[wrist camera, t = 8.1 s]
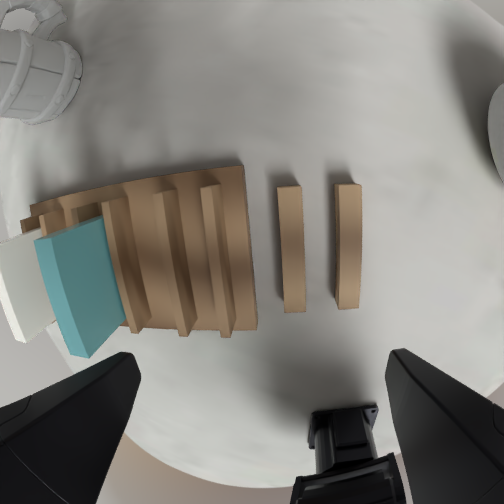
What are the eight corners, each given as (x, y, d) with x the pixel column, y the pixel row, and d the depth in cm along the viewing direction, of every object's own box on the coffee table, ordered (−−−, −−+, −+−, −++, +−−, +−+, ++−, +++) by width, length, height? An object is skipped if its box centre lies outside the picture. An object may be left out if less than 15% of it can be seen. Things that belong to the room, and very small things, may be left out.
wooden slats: (353, 298, 19) (358, 308, 18) (284, 302, 20) (284, 312, 18) (355, 183, 17) (361, 184, 15) (277, 186, 17) (277, 188, 16)
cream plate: (78, 302, 21) (26, 343, 14) (66, 301, 21) (16, 340, 14) (58, 222, 19) (-6, 246, 12) (47, 224, 19) (-15, 248, 12)
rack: (258, 321, 20) (252, 350, 17) (65, 313, 23) (43, 330, 19) (243, 165, 17) (234, 165, 14) (38, 202, 20) (10, 210, 16)
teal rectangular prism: (139, 304, 20) (89, 358, 13) (122, 304, 20) (70, 354, 13) (120, 212, 18) (50, 237, 11) (102, 214, 18) (33, 240, 11)
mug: (24, 129, 18) (-76, 135, 6) (50, 22, 14) (-32, -5, 3) (76, 120, 17) (-49, 115, 6) (107, 0, 14) (21, -53, 2)
